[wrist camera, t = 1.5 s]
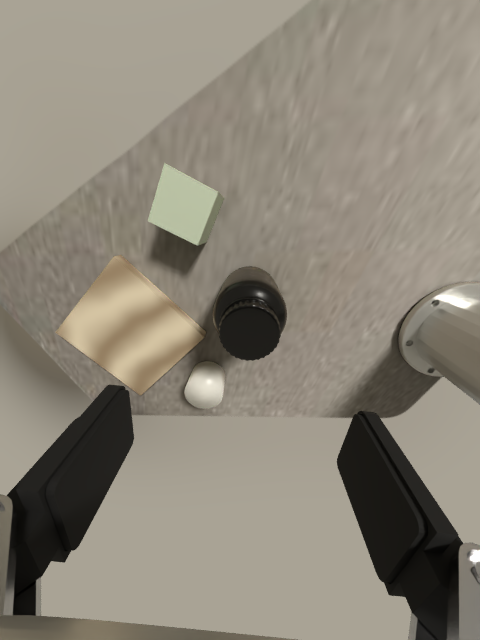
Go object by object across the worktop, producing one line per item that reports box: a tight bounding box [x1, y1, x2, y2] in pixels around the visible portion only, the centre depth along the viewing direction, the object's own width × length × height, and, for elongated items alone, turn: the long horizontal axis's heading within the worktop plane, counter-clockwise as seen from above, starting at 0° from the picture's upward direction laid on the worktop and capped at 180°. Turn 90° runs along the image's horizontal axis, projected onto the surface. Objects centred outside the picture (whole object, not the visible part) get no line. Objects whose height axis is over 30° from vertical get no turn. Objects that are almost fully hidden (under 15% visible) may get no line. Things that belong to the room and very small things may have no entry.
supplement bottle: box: [213, 266, 287, 360], centre depth 23 cm, size 7×7×12 cm
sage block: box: [148, 164, 224, 246], centre depth 23 cm, size 5×5×5 cm
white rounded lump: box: [185, 361, 226, 409], centre depth 32 cm, size 5×5×4 cm
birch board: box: [56, 255, 207, 395], centre depth 31 cm, size 14×14×2 cm
